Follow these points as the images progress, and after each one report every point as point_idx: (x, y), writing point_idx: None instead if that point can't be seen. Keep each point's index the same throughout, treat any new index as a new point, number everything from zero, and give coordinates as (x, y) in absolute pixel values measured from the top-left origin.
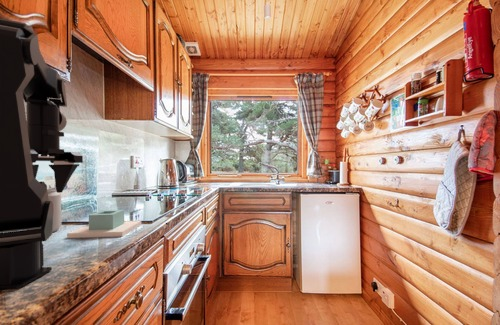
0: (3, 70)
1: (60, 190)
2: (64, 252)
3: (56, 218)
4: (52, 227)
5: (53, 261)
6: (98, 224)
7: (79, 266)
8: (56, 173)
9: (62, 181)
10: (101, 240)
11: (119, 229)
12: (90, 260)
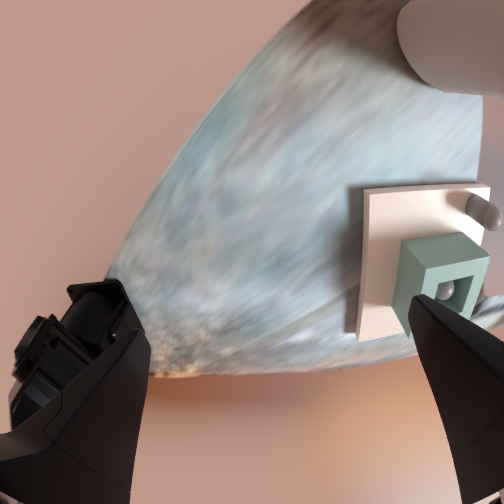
0: None
1: (411, 325)
2: (230, 287)
3: (466, 92)
4: (434, 84)
5: (177, 305)
6: (404, 279)
7: (172, 357)
8: (497, 402)
9: (439, 382)
10: (327, 308)
11: (384, 323)
12: (198, 358)
